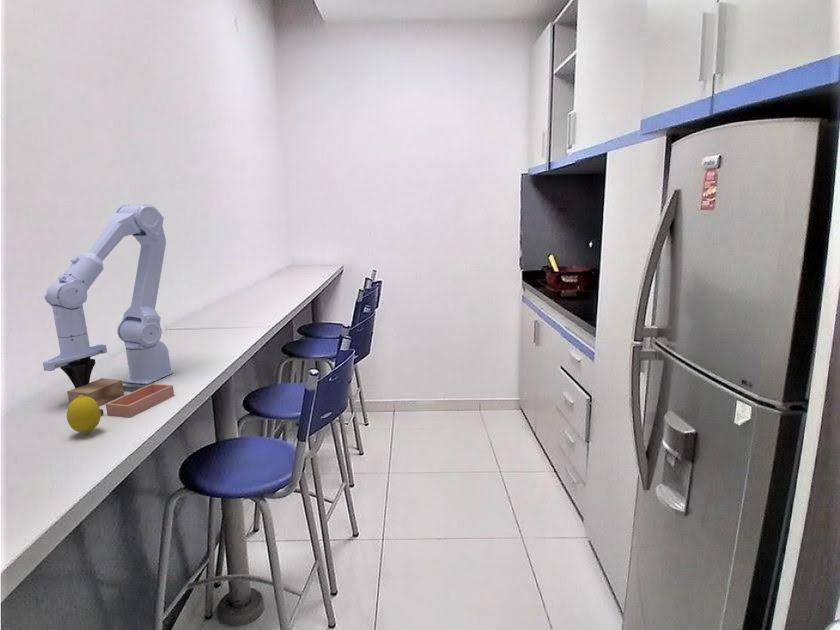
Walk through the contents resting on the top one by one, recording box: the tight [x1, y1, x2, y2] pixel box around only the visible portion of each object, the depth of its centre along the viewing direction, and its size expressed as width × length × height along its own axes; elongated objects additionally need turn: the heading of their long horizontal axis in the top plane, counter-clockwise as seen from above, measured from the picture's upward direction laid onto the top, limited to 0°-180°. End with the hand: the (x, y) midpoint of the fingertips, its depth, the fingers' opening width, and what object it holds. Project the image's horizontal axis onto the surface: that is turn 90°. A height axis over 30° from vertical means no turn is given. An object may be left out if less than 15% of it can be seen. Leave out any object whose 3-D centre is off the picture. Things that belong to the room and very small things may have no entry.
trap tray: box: [105, 383, 175, 418], centre depth 117 cm, size 13×6×2 cm, turn 164°
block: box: [66, 377, 125, 407], centre depth 120 cm, size 9×6×4 cm, turn 163°
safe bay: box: [100, 383, 146, 416], centre depth 120 cm, size 16×8×1 cm, turn 164°
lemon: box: [66, 395, 101, 435], centre depth 102 cm, size 6×6×8 cm
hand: (82, 391), depth 122 cm, fingers closed
